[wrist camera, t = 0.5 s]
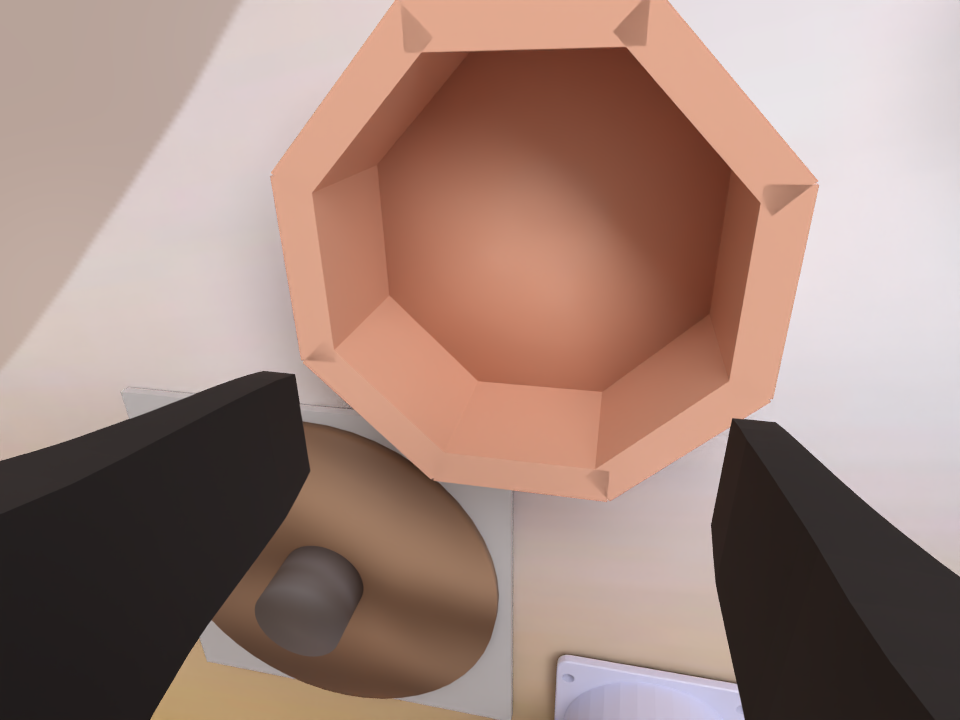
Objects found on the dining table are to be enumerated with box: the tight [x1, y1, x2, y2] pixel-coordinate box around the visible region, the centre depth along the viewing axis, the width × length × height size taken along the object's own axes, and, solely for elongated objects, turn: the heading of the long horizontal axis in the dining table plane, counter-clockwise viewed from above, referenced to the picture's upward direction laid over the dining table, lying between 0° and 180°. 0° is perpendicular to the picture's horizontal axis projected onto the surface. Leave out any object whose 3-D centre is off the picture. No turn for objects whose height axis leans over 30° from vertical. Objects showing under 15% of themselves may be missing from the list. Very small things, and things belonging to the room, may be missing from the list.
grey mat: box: [121, 387, 513, 720], centre depth 27 cm, size 16×16×1 cm
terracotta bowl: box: [270, 0, 819, 502], centre depth 16 cm, size 12×12×5 cm
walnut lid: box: [212, 421, 499, 699], centre depth 25 cm, size 15×15×3 cm
